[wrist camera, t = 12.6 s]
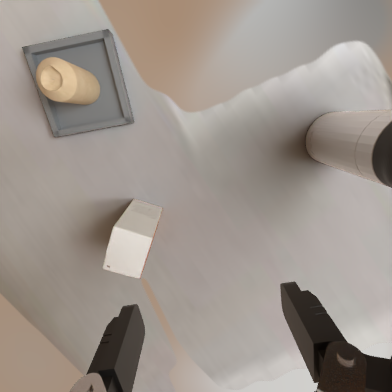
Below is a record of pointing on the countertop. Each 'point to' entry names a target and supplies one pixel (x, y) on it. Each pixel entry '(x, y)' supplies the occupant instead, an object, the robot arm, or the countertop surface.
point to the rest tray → (100, 67)
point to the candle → (66, 82)
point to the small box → (132, 239)
